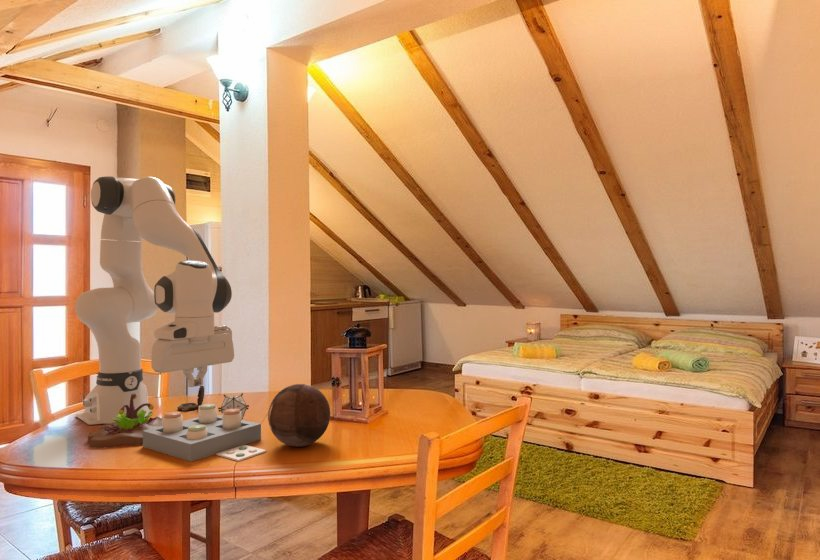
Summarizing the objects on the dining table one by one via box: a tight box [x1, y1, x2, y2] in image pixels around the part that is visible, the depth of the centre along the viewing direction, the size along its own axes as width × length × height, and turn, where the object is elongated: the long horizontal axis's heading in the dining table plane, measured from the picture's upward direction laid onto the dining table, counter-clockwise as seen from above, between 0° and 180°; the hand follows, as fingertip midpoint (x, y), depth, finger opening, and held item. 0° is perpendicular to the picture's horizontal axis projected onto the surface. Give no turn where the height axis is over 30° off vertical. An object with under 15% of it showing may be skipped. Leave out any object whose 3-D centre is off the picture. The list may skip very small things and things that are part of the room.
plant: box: [87, 393, 163, 449], centre depth 148 cm, size 20×20×11 cm
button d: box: [221, 409, 242, 430], centre depth 141 cm, size 5×5×6 cm
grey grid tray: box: [142, 414, 262, 462], centre depth 140 cm, size 20×20×4 cm
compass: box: [177, 385, 205, 412], centre depth 175 cm, size 8×8×7 cm
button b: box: [197, 403, 218, 424], centre depth 147 cm, size 5×5×6 cm
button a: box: [162, 411, 184, 434], centre depth 139 cm, size 5×5×6 cm
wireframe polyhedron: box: [217, 392, 250, 420], centre depth 159 cm, size 9×8×10 cm
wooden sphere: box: [267, 383, 331, 448], centre depth 137 cm, size 15×15×15 cm
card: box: [216, 444, 267, 462], centre depth 131 cm, size 8×8×1 cm
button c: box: [187, 425, 207, 441], centre depth 133 cm, size 5×5×6 cm
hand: (195, 386), depth 133 cm, fingers closed
